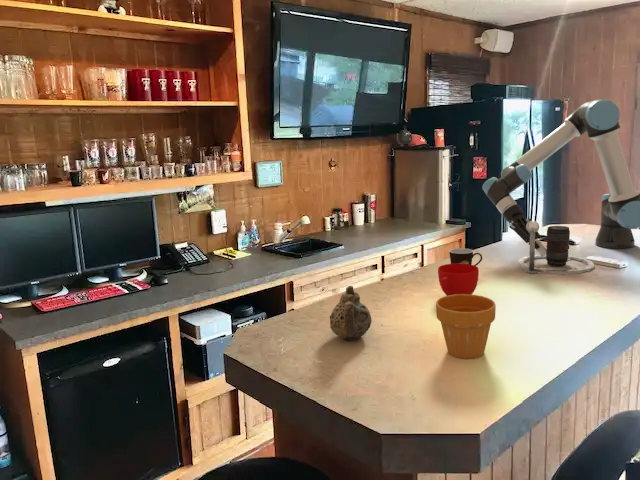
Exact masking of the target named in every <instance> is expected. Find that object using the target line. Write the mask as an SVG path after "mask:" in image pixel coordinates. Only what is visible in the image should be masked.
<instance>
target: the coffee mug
mask: <svg viewBox="0 0 640 480" xmlns="http://www.w3.org/2000/svg"><path fill="white" fill-rule="evenodd" d="M448 252H449V260H450V264H456V263H460V264H470V265H473V259H474V257H475V256H476V255H478V256H480V258H479V261H478V262H476V263H475V264H474V266H476V267H477V266H478V265H479V264H480V263H481V262H482V260H483V255H482V254H481V253H479V252H474V250H473V249H470V248H464V247H463V248H461V247H460V248H451V249H449V250H448Z"/></svg>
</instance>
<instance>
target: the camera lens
mask: <svg viewBox="0 0 640 480" xmlns="http://www.w3.org/2000/svg"><path fill="white" fill-rule="evenodd" d="M570 233H571V232H570V227H569V226H565V225H551V226H548V227H547V230H546V237H547V238H546V258H545V259H546V265H548V266H550V267H554V268H563V267H566V265H567V262H568V261H567V260H568V255H569V249H570V244H569V243H570V236H571V234H570Z"/></svg>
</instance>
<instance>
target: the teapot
mask: <svg viewBox="0 0 640 480" xmlns="http://www.w3.org/2000/svg"><path fill="white" fill-rule="evenodd" d="M360 300H361V297H360V294H359V293H358V292H355V290H354V286H352V285H349V286H347V287H346V288H345V292H344V293H342V294H341V295H340V298H339V302H338V303H337V304H336V306H334V308H333V309H332V311H331V313H330V315H329V325H330V326H329V327H330V329H331V331H332V332H333V334H334V335H336V336H339V337H341V338H343V340H359V339H361V338H362V337H363V336H364V335H365V334H366V333H367V332H368V331H369V329H370V328H371V325H372V322H373V321H372V315H371V312H370V310H369V309H368V307H367V306H366V304H363V303H361V301H360Z"/></svg>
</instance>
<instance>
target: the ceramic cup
mask: <svg viewBox="0 0 640 480" xmlns="http://www.w3.org/2000/svg"><path fill="white" fill-rule="evenodd" d="M474 265H475V264H474ZM474 265H473V264H471V265H470V264H460V263H456V264H451V263H447V264H442V265H440V266H438V268H437V274H438V281H439V282H438V283H439V286H440V289H441V290H442V291H443V293H444V294H445V296H449V295H455V294H470V295H473V294H474V292H475V291H476V289H477V286H478V282H479V275H480V274H479V272H480V271H479V267H478V266H477V265H476V266H474Z"/></svg>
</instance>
